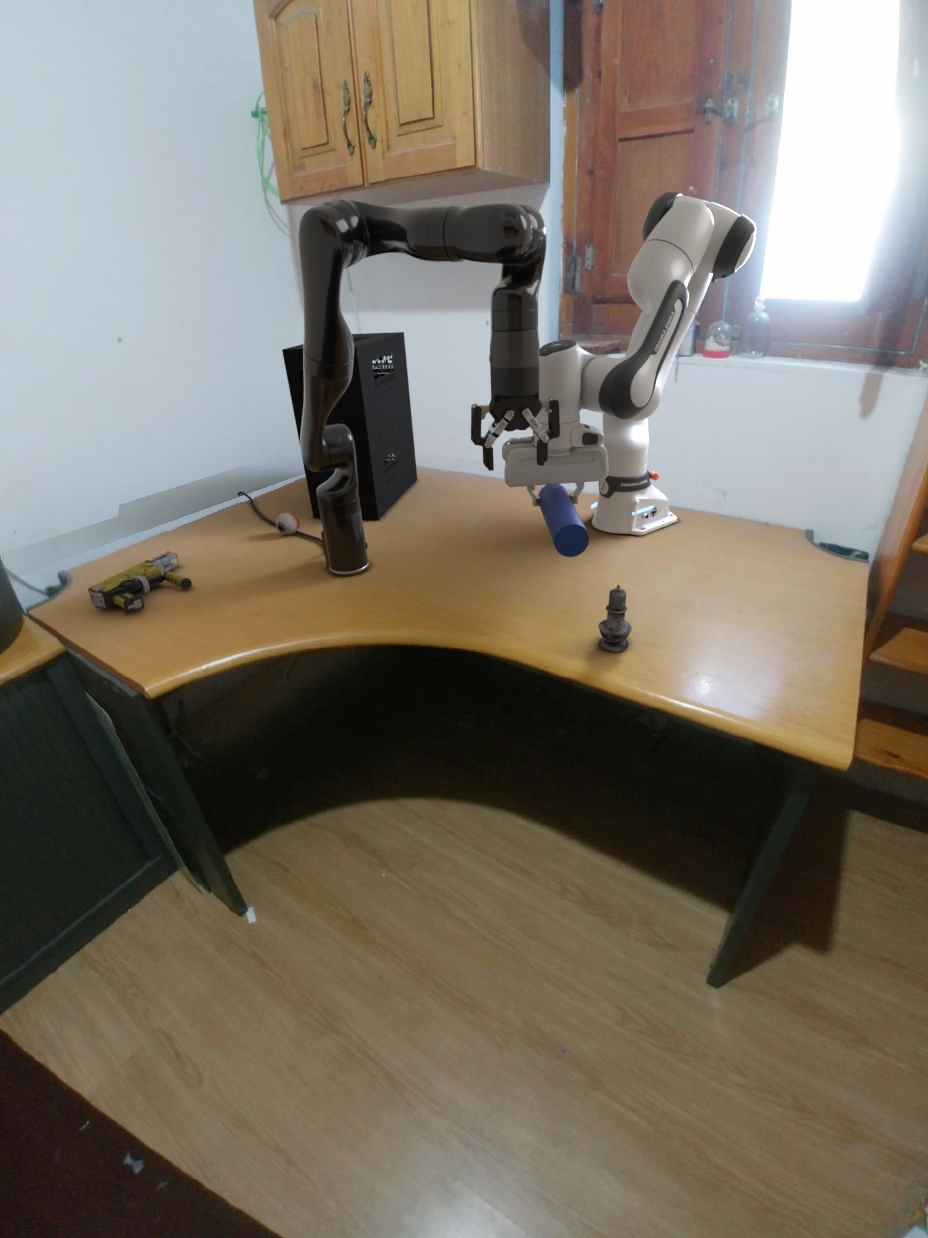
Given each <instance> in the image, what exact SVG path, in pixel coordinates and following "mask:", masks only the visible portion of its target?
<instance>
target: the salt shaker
mask: <svg viewBox="0 0 928 1238" xmlns="http://www.w3.org/2000/svg"><path fill="white" fill-rule="evenodd" d="M626 602H627V592H626V590H625V589H623V588H622V587H621V585H620V584H617V585H616V587H615V588H613V589H611V590H610V591H609V594H608V604H607V605H606V606H605V610H606V611H607V613H606V619H603V620H601V621H600V622H599V623H598V625H597V627H598V630H599V633H600V636H601V638H599V640H598V645H599V647H600V648H602V649H603V650H605V651H608V652H613V653H614V652H616V653H617V652H622V651H625V650H627V649H628V648H629V645H630V644H629V641H628V640H627V639H628V638H629V635H630V633H631V632H632V630H633V626H632V625H631V624H630V622H628V621H626V612H627V611H628V607H627V605H626Z"/></svg>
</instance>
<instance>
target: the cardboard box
mask: <svg viewBox="0 0 928 1238" xmlns="http://www.w3.org/2000/svg"><path fill="white" fill-rule="evenodd" d="M351 334H352V337H353V341H354V362H353V374H352V379H351V382H350V384H349V386H348V388H347V390H346V391H345V393H344V394H343V396H342V397H341V398H340V400H339V401H338V403H337V404H336V406H335V407H334V408H333V410H332V411H331V413H330V415H329V417H328V419H327V421H326V425H330V424H335V423H343V424H345V425H346V426H347V427H348V428H349V429H350V431H351V433H352V436H353V439H354V444H355V452H356V464H357V474H358V493H359V500H360V507H361V514H362V520H372V521H373V520H374V521H379V520H380V519H381V518H382V517H383V516H384V515H385V514H386V513H387V512H388V511H389V510H390V509H391V508H392V507H393V506H394V505H395V504H396V503H397V501H399V499H400V498H401V497H403V495H405V493H406V492H407V491H408V490H409V489H410V488H411V487H412V486H413V485H414V484H415V483H416V482H417V481H418V472H417V471H418V470H417V460H416V459H417V458H416V451H415V450H416V449H415V440H414V426H413V418H412V407H411V395H410V385H409V373H408V363H407V351H406V341H405V332H404V331H397V332H395V331H394V332H371V333H368V332H367V333H351ZM281 352H282V357H283V363H284V368H285V371H286V373H285V374H286V379H287V383H288V389H289V394H290V399H291V405H292V410H293V415H294V421H295V428H296V432H297V437H298V442H299V444H300V434H301V424H302V415H303V404H304V371H303V343H302V344H298V345H294V346H291V347H286V348H283V349H281ZM389 361H391V362H389ZM299 448H300V447H299ZM300 450H301V448H300ZM302 464H303V465H302V466H303V470H304V475H305V480H306V485H307V491H308V497H309V503H310V507H311V512H312V517H313V518H317V519H318V518H319V519H321V516H320V510H319V505H318V500H317V494H316V490H317V488H318V487H319V485H321V484H322V483H324V482H325V481H326V480H328V479H329V478H330V477H331V476H332V475H333V473H334V472H335V469H333V470H328V471H323V472H312V471H310V470H309V469H308V468H307V467H306V466H305V464H304V462H303V461H302Z"/></svg>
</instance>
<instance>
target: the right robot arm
mask: <svg viewBox="0 0 928 1238" xmlns="http://www.w3.org/2000/svg"><path fill="white" fill-rule="evenodd" d="M641 236H642V240H643V244H642V246H641V247H640V249H639V250H638V252H637V253H636V255H635V257H634V259H633V260H632V262H631V265H630V267H629V269H628V272H627V277H626V281H627V289H628V293H629V295H630V297H631V298H632V300H633V301H634V303H635V304H636V305H637V306H638V308H639V309H641V310H642V311H641V312H640V315H639V317H638V319H637V321H636V323H635V326H634V327H633V330H632V332H631V337H630V340H629V344H628V347H627V350H626V353H625V355H624V356H623V357H620V358H617V357H609V356H608V357H606V356H601V355H596V354H594V353H591V352H588V351H587V350H585V349H583V347H581V346H580V345H579V343H578V342H577V341H576V340H573V339H560V340H556V341H555V340H554V341H550V342H548V343H546V344H544V345H542V346H540V357H539V398H540V400H548V399H549V398H550V397H553V398H555V399H556V400H558V401H559V416H560V436H559V437H558V438H553V439H551V440H550V441H549V442H548V459H547V462H544V466H539V465H538V464H537V441H539V438H538V437H537V435H536V434H535V433H534V432H533V431H532V436H523V437H511V438H509V439H507V440H506V441H505V442H504V443H503V444H502V446H501V454H502V455H501V456H502V459H503V460H504V469H503V470H504V473H503V475H504V476H503V478H504V479H503V480H504V483H505V485H506V486H508V487H509V488H519V487H526V491H527V492H528V494H529V495H530V497H531V503H532V504H531V505H532V507H540V496H538V495H536V494H535V492H534V491H535V490H536V486H545V485H550V484H560V485H563V484H574V485H575V489H574V491H573V492H570V493H568V495H569V497H570V499H571V501H572V503H573V504H574V505H578V504H579V496H580V495H581V493H582V491H583V490H584V489H585V483H592V482H598V492H599V493H598V498H597V501H596V502H594V503H592V504H591V505H590V509H594V508H595V511H594V514H593V517H592V520H591V525H592V526H593V527H594V528H595V529H597V530H599V531H601V532H605V533H611V534H623V535H625V534H626V535H632V536H633V535H634V536H645V535H646V534H650V533H652V532H654V531H657V530H660V529H662V528H665V527H668V526H670V525H672V524H675V523H677V522H678V516H677V515H676V514H675V513H674V512H672V511H670V503H669V502H670V501H669V498H668V497H667V496H666V495H665V494H664V492H661V491H660V490H659V489H658V488H656V487H655V486H654V485H652V483H651V480H653V481H658V479H659V478H660V473H659V472H657V471H654V470H651V471H649V470H648V469H647V466H648V458H649V457H648V456H649V446H650V435H649V434H650V433H649V417H650V416H652V415H653V414H654V413H655V412H656V411H657V409H658V408H659V406H660V403H661V398H662V394H663V391H664V388H665V386H666V383H667V381H668V378H669V375H670V374H671V369H672V366H673V364H674V360H675V358H676V356H677V353H678V351H679V349H680V347H681V345H682V343H683V340H684V339H685V337H686V335H687V333H688V331H689V329H690V328H691V325H692V323H693V321H694V319H695V317H696V315H697V313H698V312H699V309H700V307H701V305H702V302H703V300H704V298H705V296H706V293H707V291H708V288H709V285H710V283H712V284H713V283H717V281H718V280H720V279H726V278H728V277H730V276H732V275H734V274H736V273H737V272H738V270H739V269H740V268H741V267H742V266H743V265H744V264H745V263H746V261H748V259H749V257H750V255H751V254H752V251H753V249H754V245H755V241H756V236H757V226H756V223H755V222H754V221H753V220H752V219H751V218H749V217H748V216H747V215H745V214H743V213H742V214H738V213H737V212H735V211H733V210H732V209H730V208H728V207H725V206H724V205H721V204H719V203H716V202H714V201H711V202H710V201H708V200H704V199H701V198H697V197H692V196H687V195H683V193H681V192H679V191H666V192H665V193H663V194H661V195H660V196H658V197H657V198H656V199H655V200H654V201H653V203H652V205H650V208H649V210H648V211H647V213H646V216H645V218H644V223H643V227H642V233H641ZM581 410H588V411H589V412H594V413H601V414H602V430H600V428H598V427H597V426H594V425H590V424H586V423H581V415H580V412H581ZM535 419H536V420H537V422H538V423H539V424H540V425H541V427H542V428H543V430H544V431H547V430H548V413H546V412H545V411H544V408H541V410H540V412H539V413H538V415H537V416H536V418H535Z"/></svg>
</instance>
